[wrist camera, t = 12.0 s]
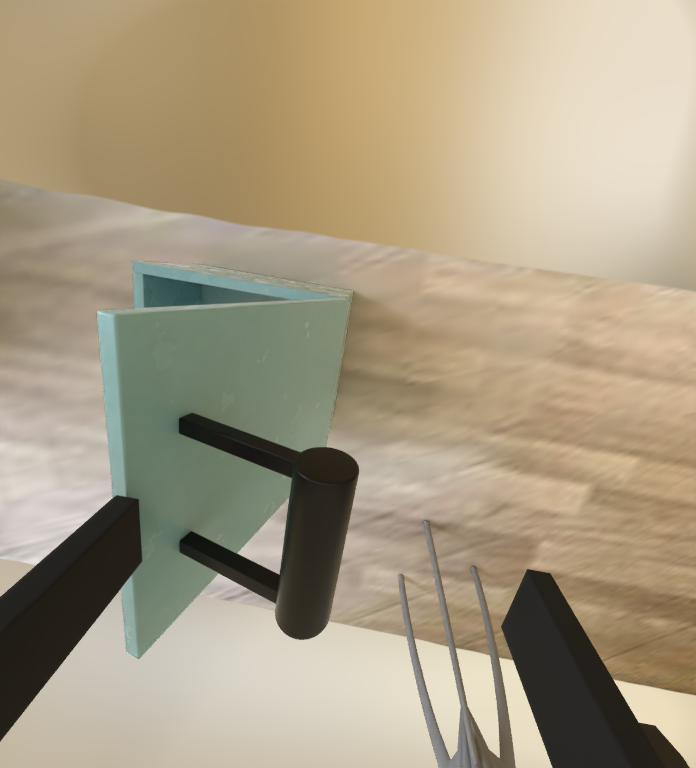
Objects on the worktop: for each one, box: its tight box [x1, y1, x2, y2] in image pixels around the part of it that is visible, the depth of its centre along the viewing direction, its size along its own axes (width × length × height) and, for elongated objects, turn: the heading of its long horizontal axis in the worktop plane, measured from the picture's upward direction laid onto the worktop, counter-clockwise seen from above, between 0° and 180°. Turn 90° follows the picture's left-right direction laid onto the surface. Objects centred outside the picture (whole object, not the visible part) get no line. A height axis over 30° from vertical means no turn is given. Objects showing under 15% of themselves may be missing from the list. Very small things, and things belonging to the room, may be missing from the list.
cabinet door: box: [97, 298, 359, 659], centre depth 19 cm, size 19×15×8 cm
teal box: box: [132, 261, 354, 427], centre depth 34 cm, size 18×15×11 cm
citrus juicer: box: [398, 520, 516, 768], centre depth 33 cm, size 11×10×30 cm
